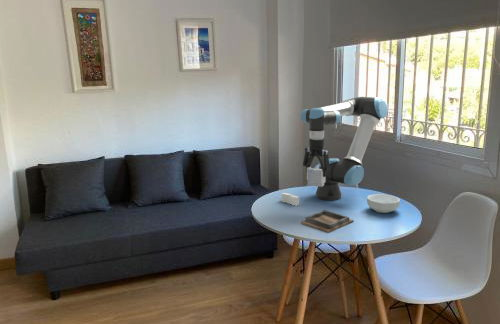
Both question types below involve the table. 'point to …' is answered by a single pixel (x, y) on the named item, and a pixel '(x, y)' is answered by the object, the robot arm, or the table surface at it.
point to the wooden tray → (326, 221)
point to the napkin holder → (290, 199)
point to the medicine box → (314, 177)
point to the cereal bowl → (383, 203)
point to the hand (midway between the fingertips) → (316, 180)
